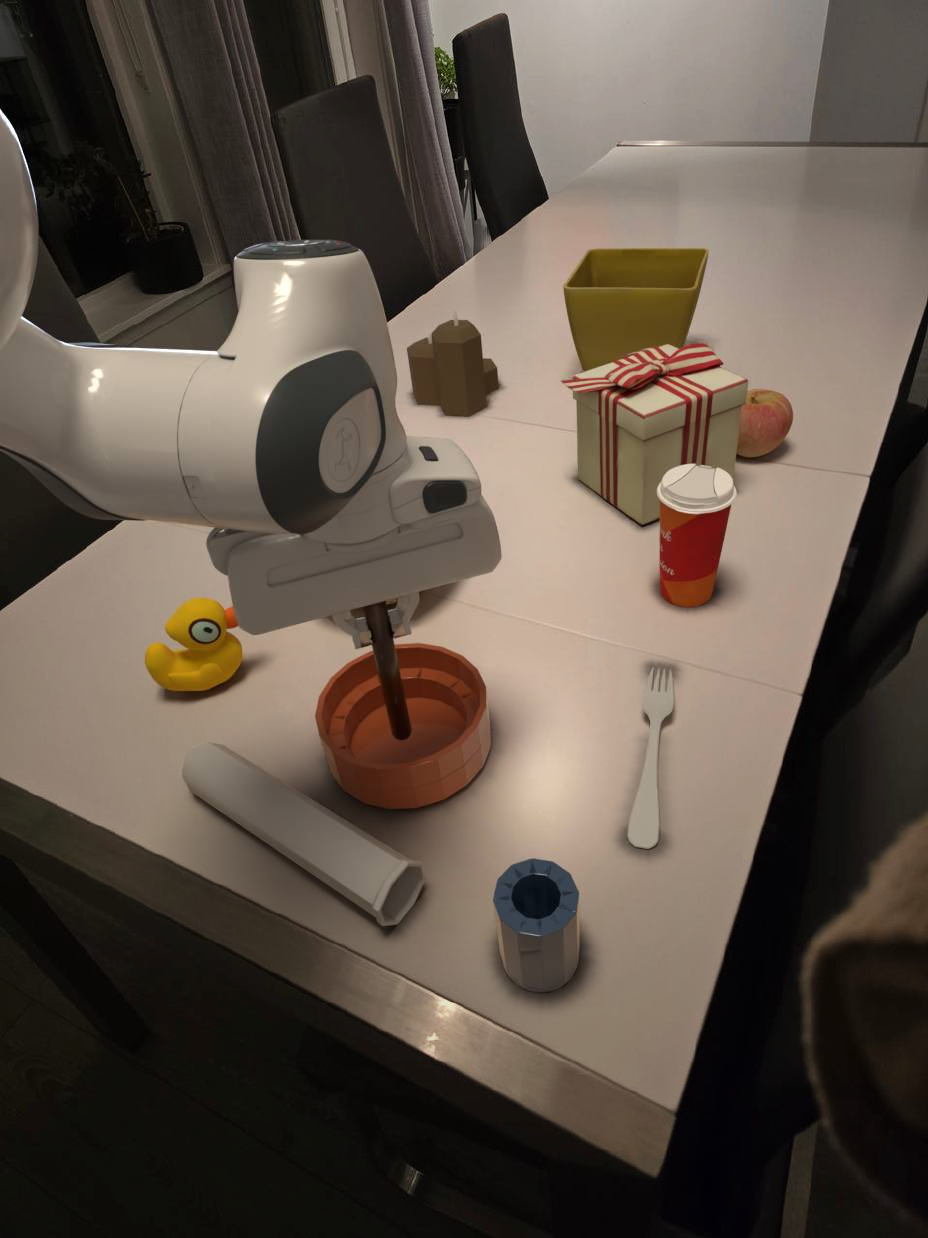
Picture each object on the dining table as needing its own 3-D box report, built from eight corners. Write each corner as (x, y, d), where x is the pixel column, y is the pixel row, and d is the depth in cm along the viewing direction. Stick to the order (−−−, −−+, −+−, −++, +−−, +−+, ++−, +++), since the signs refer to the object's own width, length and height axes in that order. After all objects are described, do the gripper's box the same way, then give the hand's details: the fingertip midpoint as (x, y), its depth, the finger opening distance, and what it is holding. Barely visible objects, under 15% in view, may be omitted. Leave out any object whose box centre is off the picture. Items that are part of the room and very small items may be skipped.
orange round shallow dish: (346, 835, 68) (331, 791, 64) (317, 712, 80) (304, 669, 76) (514, 782, 71) (510, 737, 67) (463, 670, 82) (457, 626, 78)
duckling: (263, 646, 88) (238, 574, 82) (272, 677, 84) (247, 603, 78) (158, 680, 86) (124, 608, 79) (163, 713, 82) (127, 640, 75)
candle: (511, 407, 126) (505, 311, 117) (426, 424, 125) (413, 328, 115) (489, 374, 137) (482, 283, 127) (411, 389, 135) (398, 298, 125)
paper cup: (662, 563, 93) (671, 455, 83) (730, 578, 89) (747, 468, 80) (639, 604, 88) (646, 493, 78) (710, 621, 84) (726, 508, 75)
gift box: (642, 436, 115) (649, 316, 104) (741, 487, 103) (760, 357, 92) (547, 477, 109) (543, 354, 98) (639, 537, 97) (647, 404, 86)
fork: (623, 859, 67) (623, 843, 65) (647, 667, 80) (648, 649, 78) (658, 865, 66) (659, 849, 64) (676, 670, 79) (678, 652, 77)
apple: (796, 445, 109) (807, 390, 104) (764, 473, 105) (774, 417, 100) (738, 429, 114) (745, 375, 109) (704, 455, 110) (711, 400, 105)
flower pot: (588, 347, 141) (588, 246, 130) (699, 351, 136) (709, 246, 125) (563, 395, 128) (561, 287, 117) (686, 402, 122) (696, 289, 111)
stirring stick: (395, 747, 71) (361, 598, 60) (391, 732, 73) (357, 584, 62) (415, 741, 72) (385, 591, 61) (410, 727, 73) (379, 578, 62)
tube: (158, 772, 70) (369, 917, 58) (197, 722, 72) (410, 852, 60) (191, 795, 75) (395, 935, 62) (228, 747, 76) (433, 873, 64)
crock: (517, 1004, 56) (510, 947, 51) (491, 933, 60) (483, 874, 55) (591, 977, 57) (592, 919, 52) (560, 909, 61) (558, 848, 56)
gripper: (200, 549, 51) (257, 700, 60) (502, 474, 55) (513, 627, 64) (195, 501, 56) (248, 647, 65) (474, 435, 60) (488, 583, 68)
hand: (382, 637), depth 64 cm, fingers closed on stirring stick, 2 cm apart
